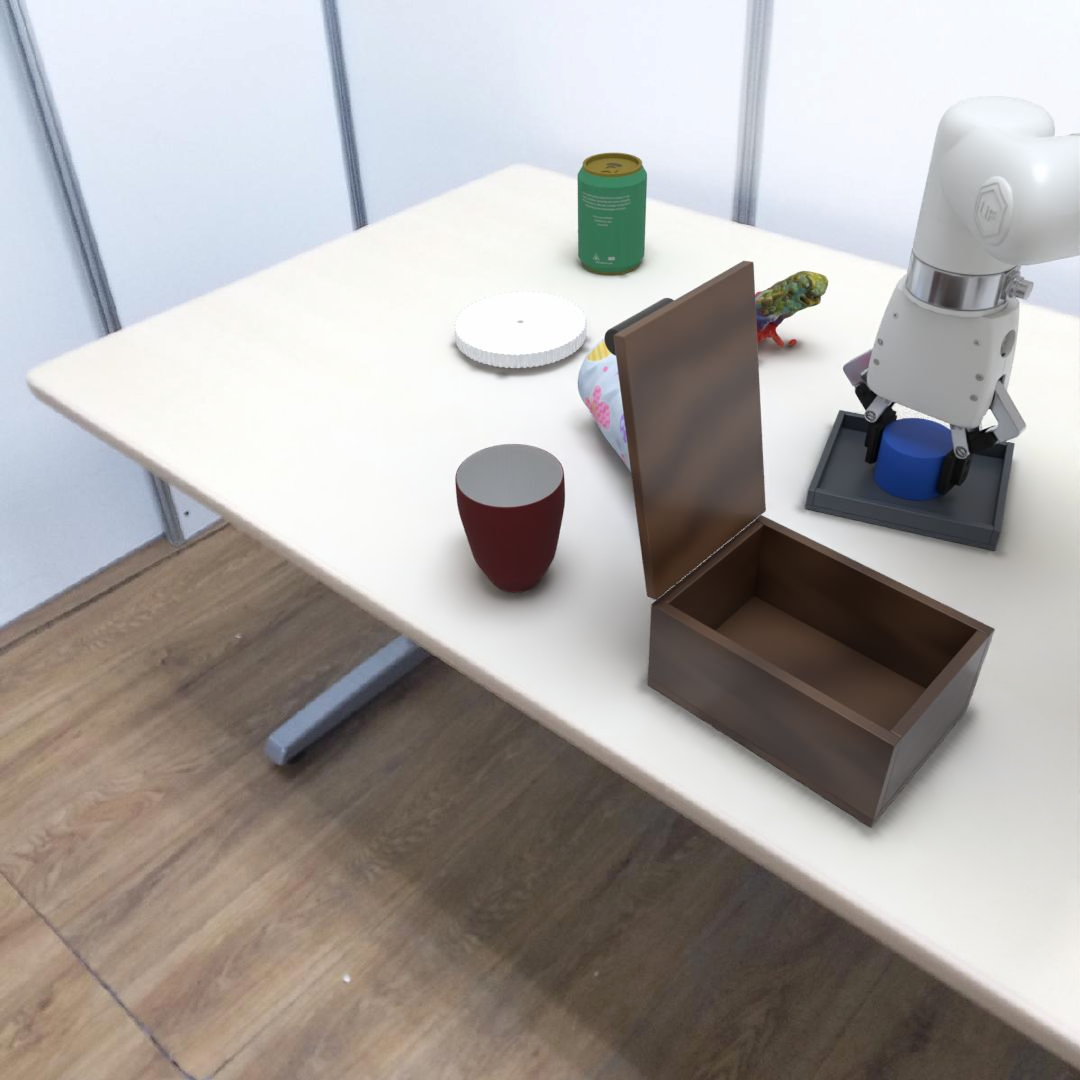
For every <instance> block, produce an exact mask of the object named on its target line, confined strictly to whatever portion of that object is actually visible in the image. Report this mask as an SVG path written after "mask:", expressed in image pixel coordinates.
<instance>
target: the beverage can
mask: <svg viewBox="0 0 1080 1080" xmlns="http://www.w3.org/2000/svg"><path fill="white" fill-rule="evenodd" d="M647 187H648V172H647V170H646V168H645V167H644V165H643V161H642V159H640V158H639V157H638V156H636V155H633V154H629V153H626V152H625V153H624V152H602V153H597V154H593V155H591V156H588V157H587V158H585V159H583V161H582V166H581V167H580V169H579V170H578V172H577V244H578V245H577V251H578V253H577V255H578V258H579V260H580V261H581V264H582V266H583V268H585V270H587V271H589V272H591V273H595V274H599V275H605V276H606V275H607V276H615V275H616V276H617V275H623V274H628V273H631V272H633V271H635V270H636V269H637V268H639V266H640V265H641V262H642V260H643V259H644V257H645V252H646V251H645V245H646V223H647V222H646V221H647V220H646V218H647V194H648V193H647V190H648V189H647Z"/></svg>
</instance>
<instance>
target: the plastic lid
mask: <svg viewBox="0 0 1080 1080" xmlns="http://www.w3.org/2000/svg"><path fill="white" fill-rule="evenodd" d="M453 325H454V326H453V328H454V329H453V330H454V337H455V338H454V339H455V344H456V347H458V349H459V350H460V352H462V353H463V355H465V356H466V357H467V358H468V357H469V359H470V360H473V361H474V362H478V363H482V364H483V365H487V366H493V367H498V368H504V369H509V368H511V369H515V368H516V369H520V368H523V369H526V368H533V367H536V368H537V367H539V366H545V365H550V364H554V363H556V362H560V361H561V360H565V358H568V357H570V355H573V354H574V353H577V350H580V348H581V347H582V346H583V344H584V343H585V342H586V338H587V327H588V326H587V315H586V314H585V312H584V310H583V309H582V308H581V307H580V305H577V303H575V302H573V301H572V300H570V299H568V298H565V297H561V296H560V295H556V294H551V293H546V292H540V291H537V292H536V291H523V290H522V291H515V292H513V291H510V292H504V293H499V294H494V295H489V296H488V297H483V299H481V298H480V299H479V300H476V301H475V302H472V303H470V305H467V307H464V308H463V310H461V311H460V312H459V313H458V315H457V316H456V318H455V320H454V323H453Z"/></svg>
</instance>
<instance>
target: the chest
mask: <svg viewBox="0 0 1080 1080" xmlns="http://www.w3.org/2000/svg"><path fill="white" fill-rule="evenodd" d="M995 631H996V629H995V627H992V626H990V625H988V624H986V623H984V622H982V621H980V620H978V619H976V618H975V617H974V618H973V617H971V616H969V615H967V614H965V613H963V612H962V611H959V610H957V609H955V608H953V607H951V606H949V605H947V604H944V603H943V602H941V601H940V600H939V601H938V600H936V599H934V598H933V597H930V596H928V595H926V594H925V593H922V592H921V591H918V590H916V589H915V588H913V587H910V586H908V585H907V584H904V583H902V582H900V581H898V580H896V579H893V578H891V577H889V576H887V575H885V574H883V573H881V572H879V571H878V570H875V569H873V568H871V567H869V566H867V565H865V564H862V563H861V562H859V561H857V560H855V559H852V558H851V557H849V556H846V555H844V554H842V553H841V552H838V551H837V550H834V549H832V548H830V547H828V546H826V545H824V544H823V543H820V542H817V541H816V540H814V539H812V538H809V537H808V536H805V535H803V534H801V533H799V532H797V531H795V530H794V529H791V528H789V527H787V526H785V525H783V524H781V523H779V522H777V521H775V520H773V519H771V518H768V517H766V516H765V515H763V514H761V515H760V516H759V517H757V518H756V519H755V520H754V521H753V522H751V523H750V524H749V525H748V526H746V527H745V528H744V529H743V530H742V531H740V532H739V533H738V534H737V535H735V536H734V537H733V538H732V539H730V540H729V541H728V542H727V543H726V544H724V545H723V546H722V547H721V548H719V549H718V550H717V551H716V552H714V553H713V554H712V555H711V556H710V557H708V558H707V559H706V560H705V561H703V562H702V563H701V564H700V565H699V566H697V567H696V568H695V569H694V570H692V571H691V572H690V573H689V574H687V575H686V576H685V577H684V578H683V579H681V580H680V581H679V582H678V583H676V584H675V585H674V586H673V587H672V588H670V589H669V590H668V591H667V592H665V593H664V594H663V595H662V596H660V597H659V598H658V599H657V600H654V601H653V602H652V603H651V605H650V623H649V643H648V644H649V645H648V663H647V664H648V665H647V685H648V686H649V687H651V688H652V689H654V690H655V691H657V692H658V693H660V694H661V695H663V696H665V697H667V698H668V699H669V700H671V701H672V702H674V703H675V704H677V705H679V706H681V707H682V708H684V709H685V710H686V711H688V712H690V713H691V714H693V715H694V716H696V717H698V718H699V719H700V720H703V721H704V722H706V723H707V724H708V725H710V726H712V727H713V728H714V729H716V730H717V731H719V732H721V733H723V734H724V735H726V736H727V737H729V738H730V739H732V740H734V741H735V742H737V743H738V744H740V745H741V746H743V747H744V748H746V749H748V750H749V751H751V752H752V753H754V754H756V755H757V756H758V757H760V758H762V759H763V760H765V761H766V762H768V763H769V764H771V765H773V766H774V767H776V768H778V769H779V770H780V771H782V772H784V773H785V774H786V775H788V776H790V777H791V778H793V779H795V780H796V781H797V782H799V783H801V784H802V785H804V786H805V787H807V788H809V789H810V790H811V791H813V792H815V793H816V794H818V795H820V796H821V797H823V798H824V799H826V800H827V801H828V802H830V803H832V804H833V805H835V806H836V807H838V808H840V809H841V810H842V811H844V812H846V813H848V814H849V815H851V816H852V817H854V818H855V819H857V820H859V821H860V822H861V823H863V824H865V825H866V826H868V827H870V828H872V827H873V826H874V825H875V824H876V823H877V821H878V820H879V818H880V817H882V815H883V814H884V813H885V812H886V810H887V809H888V808H889V806H890V805H891V804H892V803H893V802H894V800H895V799H896V798H897V797H898V796H899V794H900V793H901V792H902V791H903V790H904V788H905V787H906V786H907V784H908V783H909V782H910V781H911V780H912V779H913V777H914V776H915V775H916V774H917V772H919V770H920V769H921V768H922V766H923V765H924V764H925V762H926V761H927V760H928V759H929V758H930V757H931V755H932V754H933V753H934V752H935V750H936V749H937V748H938V747H939V746H940V744H941V743H942V742H943V740H945V738H946V737H947V736H948V734H949V733H950V732H951V731H952V730H953V728H954V727H955V726H956V724H957V723H958V722H959V721H960V719H962V717H963V716H964V715H965V713H967V711H968V708H969V705H970V703H971V699H972V697H973V694H974V692H975V688H976V686H977V683H978V680H979V677H980V674H981V671H982V668H983V666H984V662H985V659H986V656H987V654H988V651H989V648H990V645H991V643H992V639H993V637H994V633H995Z"/></svg>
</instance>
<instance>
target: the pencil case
mask: <svg viewBox="0 0 1080 1080" xmlns="http://www.w3.org/2000/svg"><path fill="white" fill-rule="evenodd" d="M577 391H578V394H579V396H580V399H581V400H582V402H583V404H584V405H585V406H586V408H587V409H588V410H589V412H590V415H591V416H592V417H593V419H594V420H595V422H596V425H597V427H598V428H599V429H600V431H601V433H602V434H603V436H604V437H605V439H606V440H607V441H608V443H609V444H610V445H611V447H612V448H613V449H614V451H615V452H616V453H617V454H618V457H620V459H621V460H622V461H623V463H624V464H625V466H626V467H627V469H628V470H629V472H630V473H631V468H630V460H629V453H628V445H627V437H626V429H625V422H624V414H623V406H622V398H621V391H620V383H619V375H618V367H617V360H616V356H615V355H613V354H612V353H611V352H610V351H609V350H608V349H607V347H606V345H605V341H604V338H603V339H601V340H599V341H598V342H597V343H596V344H594V346H593V347H591V349H590V350H589V352H588V353H587V354H586V356H585V358H584V359H583V362H582V364H581V365H580V368H579V372H578V376H577Z"/></svg>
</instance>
